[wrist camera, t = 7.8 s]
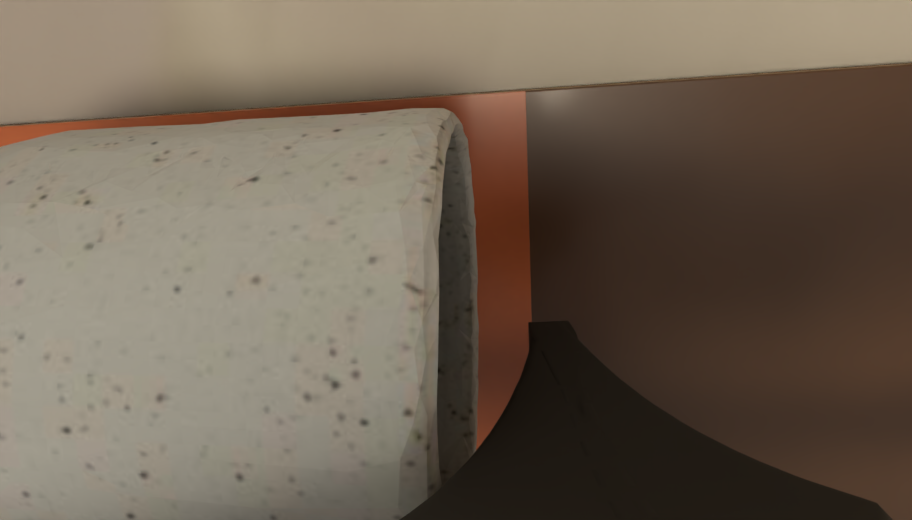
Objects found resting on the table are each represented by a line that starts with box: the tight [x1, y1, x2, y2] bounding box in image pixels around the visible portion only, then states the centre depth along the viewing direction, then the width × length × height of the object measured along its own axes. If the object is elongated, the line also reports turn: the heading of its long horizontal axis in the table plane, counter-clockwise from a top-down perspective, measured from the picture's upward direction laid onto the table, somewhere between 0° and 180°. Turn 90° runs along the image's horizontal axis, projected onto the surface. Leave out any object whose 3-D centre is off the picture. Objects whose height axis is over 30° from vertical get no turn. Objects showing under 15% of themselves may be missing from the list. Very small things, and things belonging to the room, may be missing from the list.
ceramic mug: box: [0, 108, 479, 520], centre depth 11 cm, size 11×8×8 cm
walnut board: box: [0, 63, 912, 520], centre depth 15 cm, size 15×25×1 cm, turn 94°
